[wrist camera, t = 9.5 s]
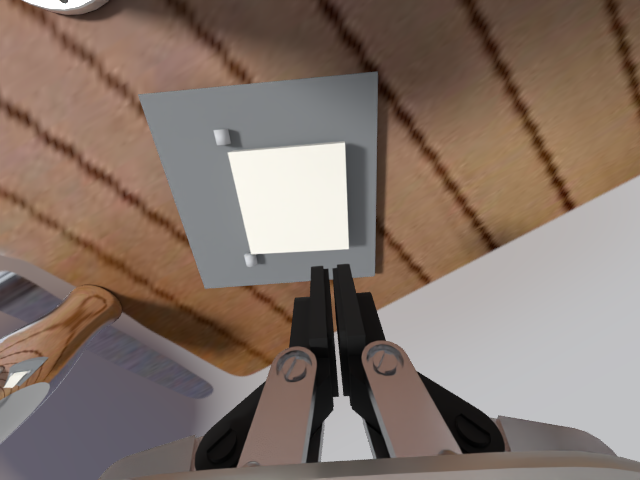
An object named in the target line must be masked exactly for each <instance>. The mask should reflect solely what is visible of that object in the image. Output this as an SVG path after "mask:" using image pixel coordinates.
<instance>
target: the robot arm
mask: <svg viewBox="0 0 640 480" xmlns="http://www.w3.org/2000/svg"><path fill="white" fill-rule="evenodd" d="M23 1H25V2H27V3H29V4H31V5H34V6H36V7H39V8H42V9H44V10H47V11H50V12H55V13H60V14H65V15H72V14H84V13H87V12H90V11H93V10H96V9H98V8H99V7H101V6H102V5H104V4H105V3H106V2H108V1H109V0H23ZM332 271H333V285H334V298H335V312H336V324H337V334H338V344H339V355H340V364H341V375H342V385H343V395H344V396H349V397H350V405H351V406H352V409H353V410H354V411H355V412H356V413H358V414H359V415H360V416H361V417H362V419H363V425H364V428H365V431H366V435H367V438H368V442H369V445H370V448H371V452H372V455H373V459H368V460H352V461H334V462H321V454H322V445H323V435H324V420H325V419H326V418H327V417H328V415H329V414H330V413H331V412H332V411H333V407H334V405H333V397H338V396H339V393H338V380H337V368H336V356H335V344H334V331H333V318H332V306H331V294H330V282H329V270H328V269H324V267H323V266H312V267H311V283H310V297H299V298H295V301H294V309H293V318H292V327H291V336H290V344H289V348H287V349H285V350H283V351H282V352H280V353H279V354H278V355H277V356H276V357H275V359H274V361H273V363H272V365H271V368H270V371H269V374H268V377H267V380H266V381H265V382H264V383H263V384H262V385H260V386H259V387H258V388H257V389H256V390H255V391H254V392H252V393H251V394H250V395H249V396H248V397H247V398H245V399H244V400H243V401H242V402H241V403H240V404H238V405H237V406H236V407H235V408H234V409H233V410H232V411H230V412H229V413H228V414H227V415H226V416H224V417H223V418H222V419H221V420H220V421H219V422H218V423H216V424H215V425H214V426H213V427H212V428H211V429H210V430H209V431H208V432H207V433H206V434H205V435H204V436H202V437H199V438H197V437H196V436H195V435H193V436H190V437H187V438H183V439H180V440H177V441H174V442H171V443H168V444H164V445H161V446H158V447H155V448H152V449H148V450H145V451H142V452H139V453H136V454H132V455H129V456H127V457H125V458H123V459H120V460H118V461H117V462H115V463H114V464H113V465H112V466H110V467H109V468H108V469H107V470H106V471H105V472H104V473H103V474H102V475H101V477H100V478H99V479H98V480H640V462H637V461H634V460H630V459H626V458H622V457H618V456H617V455H616V454H615V453H614V452H613V451H612V450H611V449H610V448H609V447H608V446H607V445H606V444H604V443H603V442H602V441H601V440H600V439H598V438H596V437H594V436H593V435H591V434H589V433H587V432H585V431H582V430H578V429H575V428H570V427H564V426H558V425H552V424H546V423H540V422H534V421H529V420H523V419H517V418H511V417H505V416H498V418H497V419H495V418H489V417H488V416H487V415H486V414H484V413H483V412H482V411H480V410H479V409H477V408H476V407H474V406H472V405H471V404H469V403H468V402H466V401H464V400H463V399H461V398H459V397H458V396H456V395H455V394H453V393H451V392H450V391H448V390H446V389H445V388H443V387H441V386H440V385H438V384H437V383H435V382H433V381H432V380H430V379H428V378H427V377H425V376H424V375H422V374H420V373H419V372H417V371H416V370H415V368H414V366H413V364H412V363H411V361H410V359H409V357H408V356H407V354H406V353H405V352H404V350H403V349H402V348H401V347H399V346H398V345H397V344H394V343H392V342H389V341H386V340H385V336H384V333H383V330H382V327H381V324H380V320H379V317H378V314H377V310H376V307H375V304H374V301H373V297H372V294H371V293H370V292H365V293H356V291H355V286H354V282H353V278H352V273H351V269H350V264H338V265H337V268H332Z"/></svg>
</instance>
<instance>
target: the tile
mask: <svg viewBox="0 0 640 480" xmlns="http://www.w3.org/2000/svg"><path fill="white" fill-rule="evenodd" d="M228 156H229V161H230V165H231V169H232V174H233V178H234V182H235V187H236V191H237V195H238V200H239V204H240V208H241V213H242V217H243V221H244V226H245V230H246V234H247V239H248V243H249V247H250V252H251V254H267V253H286V252H305V251H324V250H343V249H349V238H348V211H347V183H346V156H345V142H344V141H340V142H328V143H316V144H304V145H292V146H280V147H268V148H256V149H244V150H233V151H230V152H228Z"/></svg>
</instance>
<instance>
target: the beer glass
mask: <svg viewBox="0 0 640 480" xmlns="http://www.w3.org/2000/svg"><path fill="white" fill-rule="evenodd" d="M121 313H122V307H121V304H120V302H119V300H118V299H117V298H116V297H115V296H114V295H113V294H112V293H110V292H109V291H107V290H105V289H103V288H101V287H98V286H93V285H82V286H79V287H77V288H75V289H74V290H72V291H71V292H70V293H69V294H68V296H67V297H66V298H65V299H64V300H63V301H62V302H61V303H60V304H59V305H58V306H56V307H55V308H54V309H52V310H51V311H50V312H48V313H46V314H45V315H43V316H42V317H40V318H38V319H36V320H34V321H33V322H31V323H29V324H27V325H25V326H23V327H21V328H19V329H17V330H15V331H14V332H12V333H10V334H8V335H6V336H4V337H3V338H1V339H0V444H1V443H2V442H3V441H4V440H5V439H6V438H7V437H9V436H10V435H11V434H12V433H13V432H14V431H15V430H16V429H17V428H18V427H19V426H20V425H21V424H22V423H23V422H25V421H26V420H27V419H28V418H29V417H30V416H31V415H32V414H33V413H34V412H35V411H36V410H37V409H38V408H39V407H40V406H41V405H42V404H43V403H44V402H45V401H46V399H47V398H48V397H49V396H50V395H51V394H52V393H53V392H54V391H55V389H56V388H57V387H58V386H59V384H60V383H61V382H62V381H63V379H64V378H65V377H66V376H67V374H68V373H69V372H70V370H71V369H72V367H73V366H74V364H75V363H76V361H77V360H78V359H79V357H80V356H81V354H82V353H83V352H84V350H85V349H86V348H87V346H88V345H89V344H90V342H91V341H92V340H93V339H94V338H95V337H96V336H97V335H98V334H99V333H100V332H101V331H102V330H103V329H105V328H106V327H108V326H109V325H111V324H112V323H113V322H115V321H116V320H117V319H118V318H119V317H120V316H121Z"/></svg>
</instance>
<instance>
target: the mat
mask: <svg viewBox="0 0 640 480" xmlns="http://www.w3.org/2000/svg"><path fill="white" fill-rule="evenodd" d="M138 96H139V99H140V102H141V105H142V108H143V110H144V113H145V116H146V119H147V122H148V125H149V128H150V131H151V134H152V137H153V139H154V142H155V145H156V148H157V151H158V154H159V157H160V160H161V163H162V165H163V168H164V171H165V174H166V177H167V180H168V183H169V186H170V189H171V192H172V194H173V197H174V200H175V203H176V206H177V209H178V212H179V215H180V218H181V220H182V223H183V226H184V229H185V232H186V235H187V238H188V241H189V244H190V247H191V249H192V252H193V255H194V258H195V261H196V264H197V267H198V270H199V273H200V276H201V278H202V281H203V284H204V287H205V289H206V288H220V287H233V286H247V285H261V284H274V283H288V282H302V281H311V267H312V266H323V267H324V269H328V270H329V279H333V271H332V268H337V265H338V264H350V269H351V273H352V278H356V277H370V276H375V237H376V170H377V103H378V72H368V73H358V74H347V75H337V76H326V77H316V78H305V79H295V80H285V81H274V82H264V83H253V84H243V85H233V86H222V87H212V88H201V89H191V90H180V91H170V92H160V93H149V94H139V95H138ZM340 141H344V142H345V156H346V183H347V211H348V238H349V249H343V250H324V251H305V252H286V253H267V254H251V252H250V247H249V243H248V239H247V234H246V230H245V226H244V221H243V217H242V213H241V208H240V204H239V200H238V195H237V191H236V187H235V182H234V178H233V174H232V169H231V165H230V161H229V156H228V152H230V151H233V150H244V149H256V148H268V147H280V146H292V145H304V144H316V143H328V142H340Z"/></svg>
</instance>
